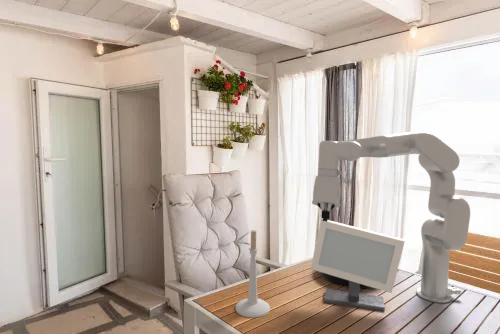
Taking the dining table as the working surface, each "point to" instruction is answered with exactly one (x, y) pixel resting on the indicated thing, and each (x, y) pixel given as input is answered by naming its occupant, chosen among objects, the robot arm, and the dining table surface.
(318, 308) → the dining table surface
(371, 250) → the picture frame
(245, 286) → the dining table surface
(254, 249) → the candlestick
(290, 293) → the dining table surface
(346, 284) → the round tray
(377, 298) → the frame stand
